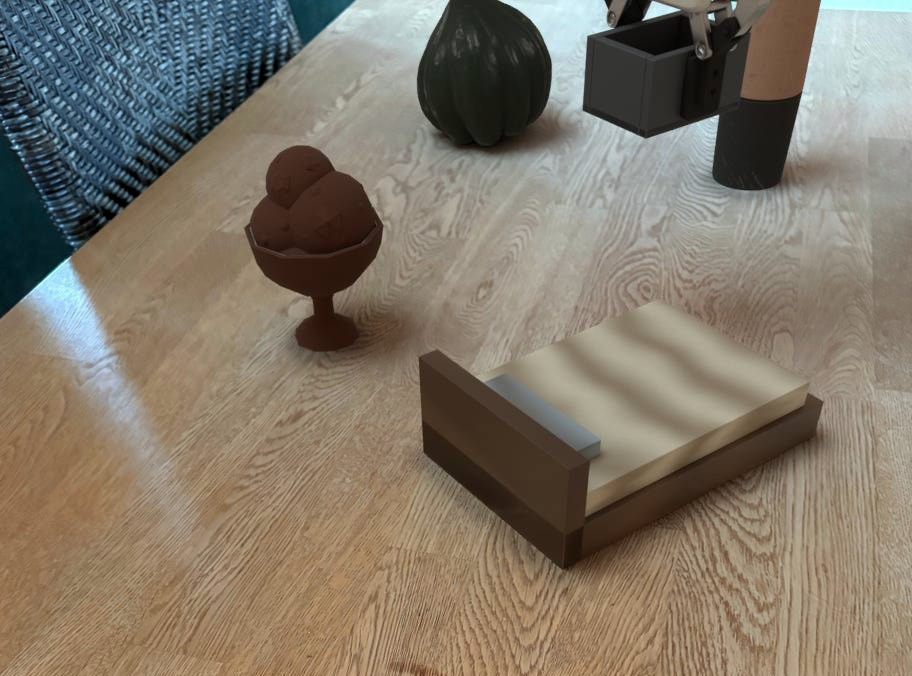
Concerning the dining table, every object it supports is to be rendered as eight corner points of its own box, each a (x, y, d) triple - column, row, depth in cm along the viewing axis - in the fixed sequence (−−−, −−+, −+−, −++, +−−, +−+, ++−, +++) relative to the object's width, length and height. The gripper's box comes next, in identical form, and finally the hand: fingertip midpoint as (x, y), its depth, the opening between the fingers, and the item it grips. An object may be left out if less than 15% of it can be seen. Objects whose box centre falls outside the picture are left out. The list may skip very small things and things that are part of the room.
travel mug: (707, 160, 109) (741, -61, 95) (780, 161, 108) (826, -62, 94) (710, 190, 104) (747, -39, 90) (787, 192, 103) (837, -39, 89)
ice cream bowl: (242, 358, 85) (206, 176, 74) (298, 294, 92) (273, 120, 81) (358, 378, 82) (339, 192, 72) (407, 311, 90) (397, 132, 79)
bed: (662, 345, 84) (675, 252, 78) (814, 436, 75) (842, 338, 69) (423, 452, 75) (418, 356, 70) (562, 569, 66) (570, 470, 60)
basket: (672, 82, 79) (681, 9, 75) (738, 108, 75) (751, 32, 71) (582, 110, 75) (586, 35, 72) (645, 139, 71) (654, 60, 68)
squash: (594, 90, 110) (537, -50, 107) (482, 130, 105) (419, -16, 102) (532, 149, 123) (480, 26, 120) (430, 187, 118) (374, 60, 115)
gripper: (854, -208, 58) (787, 122, 71) (647, -235, 68) (621, 58, 81) (760, -191, 55) (708, 149, 68) (559, -221, 65) (547, 80, 78)
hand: (661, 97), depth 74 cm, fingers closed on basket, 7 cm apart
